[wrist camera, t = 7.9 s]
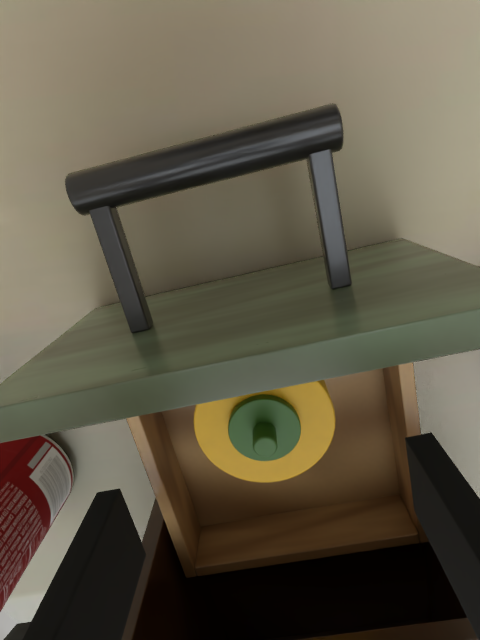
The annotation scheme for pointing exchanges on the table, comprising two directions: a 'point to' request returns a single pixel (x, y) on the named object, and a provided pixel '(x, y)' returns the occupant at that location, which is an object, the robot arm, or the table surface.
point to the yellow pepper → (267, 431)
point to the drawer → (256, 359)
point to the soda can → (28, 501)
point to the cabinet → (296, 597)
